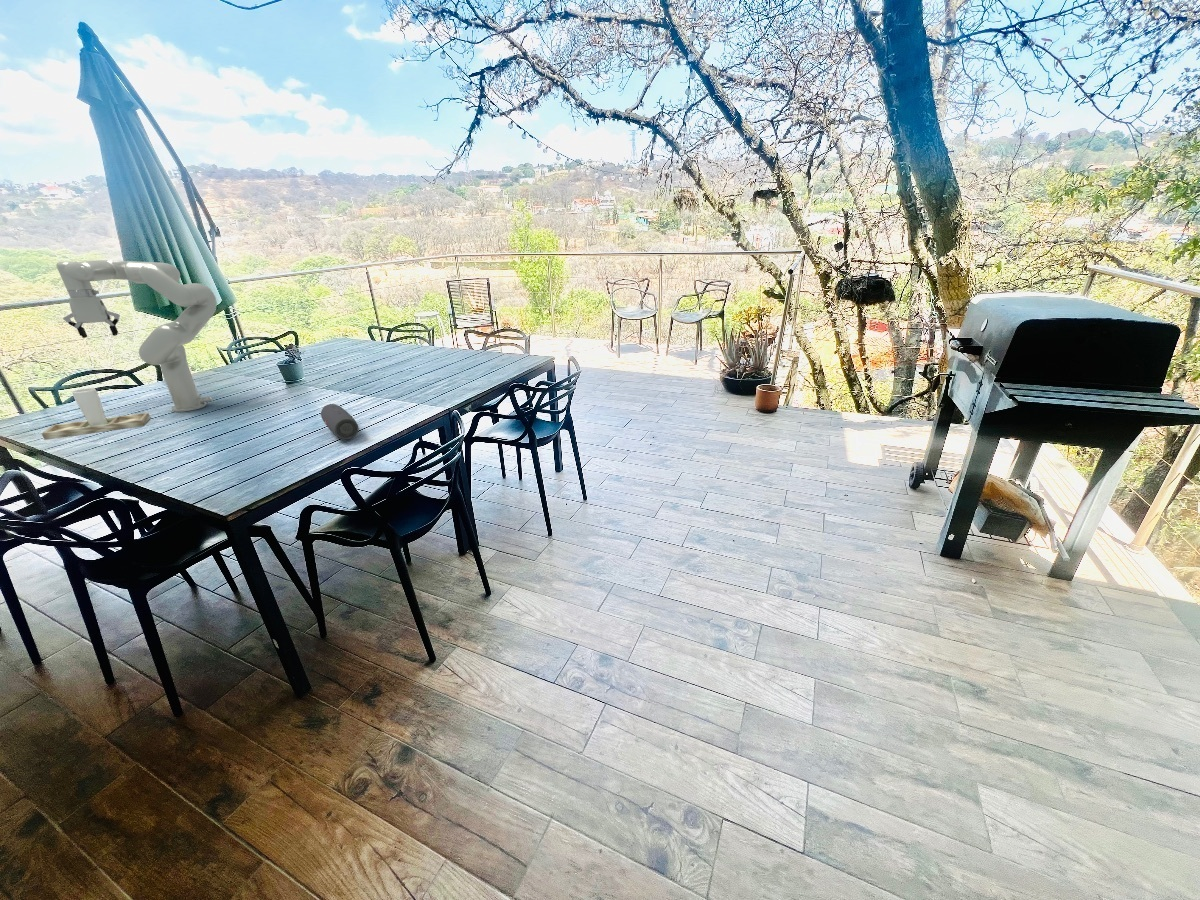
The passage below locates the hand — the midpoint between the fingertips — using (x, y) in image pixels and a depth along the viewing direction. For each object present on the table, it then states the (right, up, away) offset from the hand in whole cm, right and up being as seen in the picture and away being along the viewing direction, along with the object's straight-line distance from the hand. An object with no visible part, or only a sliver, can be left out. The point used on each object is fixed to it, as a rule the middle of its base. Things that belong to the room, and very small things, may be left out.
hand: (100, 336), depth 202 cm
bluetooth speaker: (+109, -42, -12) cm, 117 cm away
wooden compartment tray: (+6, -39, -6) cm, 40 cm away
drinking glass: (+6, -38, -6) cm, 39 cm away
